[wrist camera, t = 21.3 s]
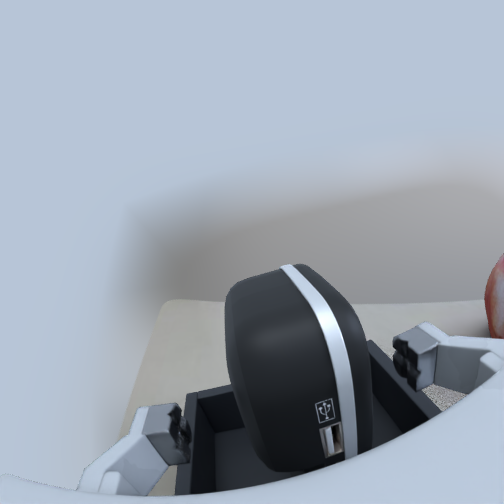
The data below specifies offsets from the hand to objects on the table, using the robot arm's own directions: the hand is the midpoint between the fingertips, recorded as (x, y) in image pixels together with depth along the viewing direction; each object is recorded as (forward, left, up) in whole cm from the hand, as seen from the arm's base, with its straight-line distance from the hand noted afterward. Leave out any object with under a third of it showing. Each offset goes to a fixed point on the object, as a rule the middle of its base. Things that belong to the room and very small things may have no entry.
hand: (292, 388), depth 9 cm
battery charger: (0, +1, -8) cm, 8 cm away
